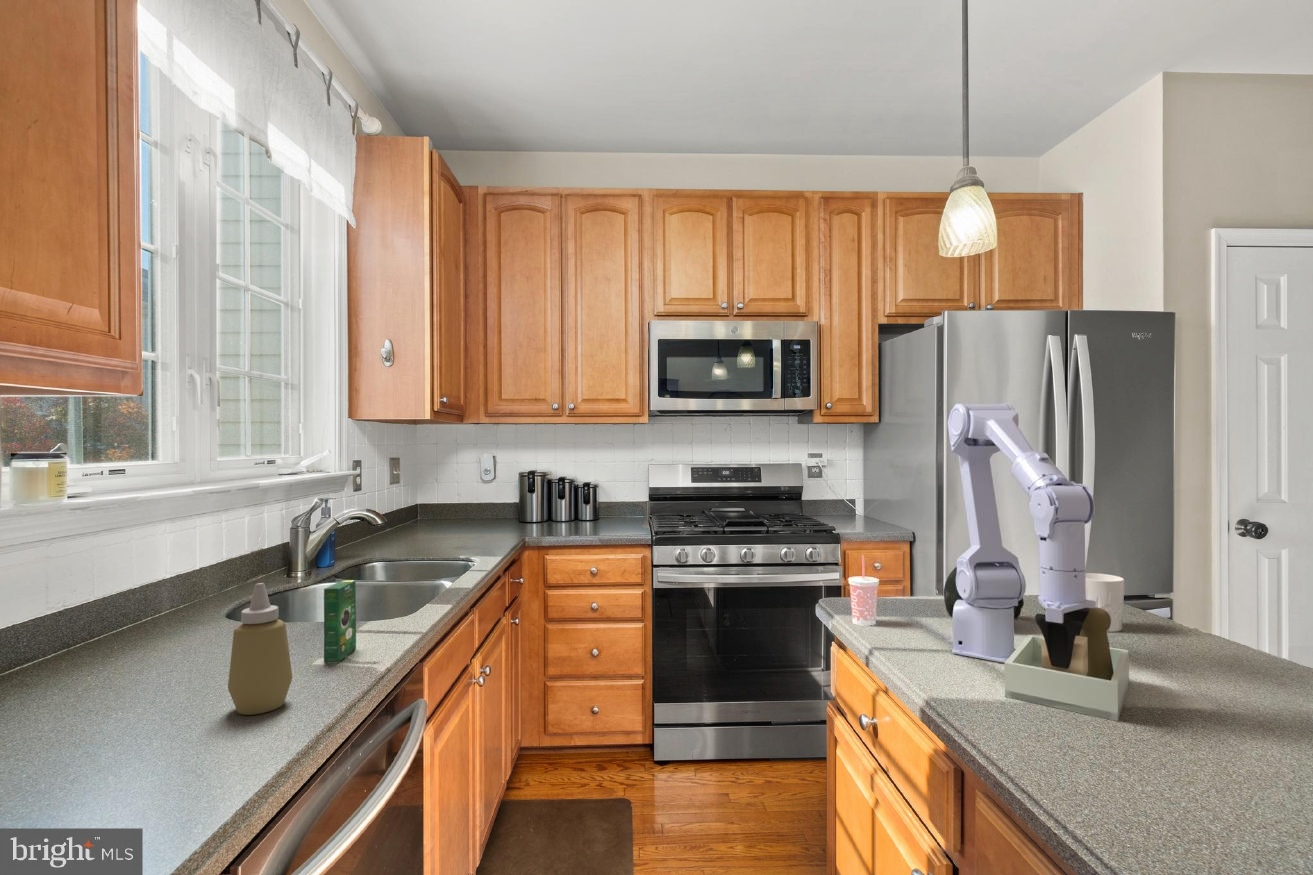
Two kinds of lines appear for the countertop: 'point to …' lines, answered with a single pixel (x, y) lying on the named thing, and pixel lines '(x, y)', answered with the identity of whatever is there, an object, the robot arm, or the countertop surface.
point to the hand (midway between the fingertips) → (1063, 661)
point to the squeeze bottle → (259, 658)
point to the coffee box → (339, 621)
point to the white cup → (1107, 596)
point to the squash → (953, 595)
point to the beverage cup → (863, 598)
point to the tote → (1065, 683)
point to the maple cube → (1077, 661)
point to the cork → (1098, 643)
